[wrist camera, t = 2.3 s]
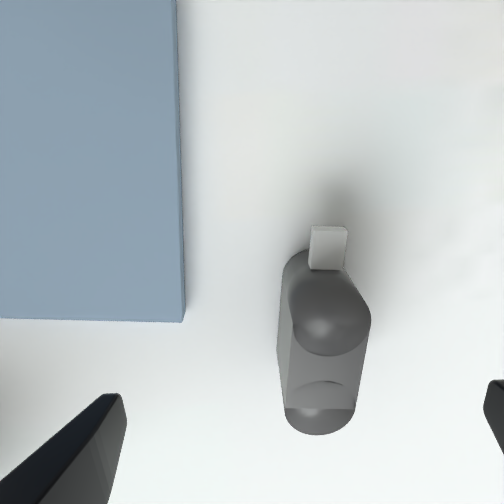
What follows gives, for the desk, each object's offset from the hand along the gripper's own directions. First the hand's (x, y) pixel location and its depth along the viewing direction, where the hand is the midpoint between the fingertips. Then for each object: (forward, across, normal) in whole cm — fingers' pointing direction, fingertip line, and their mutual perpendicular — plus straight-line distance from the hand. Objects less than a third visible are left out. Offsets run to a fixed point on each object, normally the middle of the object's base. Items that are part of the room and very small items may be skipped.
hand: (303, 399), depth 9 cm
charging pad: (+12, +11, -4) cm, 17 cm away
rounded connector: (+12, -2, +5) cm, 14 cm away
